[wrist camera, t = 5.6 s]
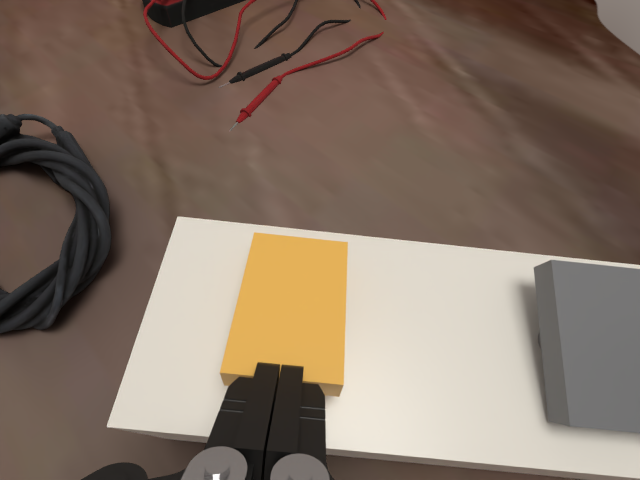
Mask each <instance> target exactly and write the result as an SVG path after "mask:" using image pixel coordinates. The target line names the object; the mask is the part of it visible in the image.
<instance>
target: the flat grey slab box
mask: <svg viewBox="0 0 640 480" xmlns="http://www.w3.org/2000/svg"><path fill="white" fill-rule="evenodd" d="M534 277H535V288H536V298H537V308H538V319H539V329H540V331H539V334H538V344H539V347H540V349H541V350H542V361H543V371H544V382H545V392H546V402H547V413H548V422H552V423H557V424H561V425H566V426H571V427H581V428H591V429H602V430H612V431H622V432H632V433H640V269H636V268H626V267H617V266H607V265H598V264H588V263H579V262H569V261H560V260H549V261H547V262H545V263H542V264H540V265H538V266H535V267H534Z"/></svg>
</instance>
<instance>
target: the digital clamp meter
mask: <svg viewBox="0 0 640 480" xmlns="http://www.w3.org/2000/svg"><path fill="white" fill-rule="evenodd" d="M142 1H143V4H144V7H145V9H144V14H143V15H144V19H145V22H146V25H147V26H148V28H149V30H150V31H151V33H152V34H153V35H154V36H155V37H156V39H157V40H158V41H159V42H160V43H161V44H162V45H163V46H164V48H165V49H166V50H167V51H168V52H169V53H170V54H171V55H172V56H173V57H174V58H175V59H177V60H178V61H179V62H180V63H181V64H182V65H183V66H184V67H185V68H186V69H187V70H188V71H189V72H190V73H192V74H193V75H195V76H196V77H198V78H200V79H203V80H209V79H213V78H215V77H217V76H218V75H219V74H220V73H221V72H222V71H223V70H224V69H225V67H226V66H227V64H228V62H229V61H230V59H231V57H232V54H233V51H234V48H235V46H236V43H237V39H238V34H239V29H240V24H241V18H242V14H243V12H244V10H245V9H246V8H247V7H248V6H249V5H250V4H251V3H253V2H254V1H256V0H250V1H249V2H248V3H247V4H246V5H245V6H244V7H243V8H242V9H241V11H240V13H239V17H238V23H237V28H236V33H235V38H234V42H233V44H232V47H231V50H230V53H229V56H228V58H227V59H226V61H225V63H224V65H223V66H222V65H219V64H217V63H215V62H214V61H212V60H211V59H210V58H209V57H208V56H207V55H206V54H205V53H204V52H203V50H202V49H201V48H200V47H199V46H198V45H197V44H196V42H195V40H194V39H193V37H192V36H191V34H190V32H189V31H188V28H187V25H186V22H188V21H191V20H193V19H196V18H199V17H202V16H204V15H207V14H210V13H212V12H215V11H218V10H221V9H223V8H226V7H229V6H231V5H234V4H237V3H240V2H242V1H245V0H142ZM297 1H298V0H295V2H294V5H293V7H292V9H291V11H290V13H289V15H288V16H287V17H286V18H285V20H283V21H282V22H281V23H280V24H278V25H277V26H276V27H275V28H274V29H273V30H272V31H271V32H270V33H269V34H268V35H267V36H266V37H264V38H263V39H262V41H261V42H260V43H259V44H258V45H257V46H256V47H255V48H254V49H256V48H258V47H259V46H261V45H262V44H263V43H264V42H265V41H266V40H267V39H268V38H269V37H270V36H271V35H272V34H273V33H274V32H275V31H276V30H277V29H278V28H279V27H281V26H282V25H283V24H284V23H285V22H287V20H288V19H289V18H290V17H291V15H292V13H293V11H294V9H295V7H296V4H297ZM370 1H371V2H372V3H373V4H374V5H375V6H376V7H377V8H378V10H379V11H380V13H381V14H382V16H383V17H384V19H385V20H386V17H385V14H384V13H383V11H382V9H381V8H380V6H379V5H378V4H377V3H376V2H375V1H374V0H370ZM355 2H356V3H357V5H358V6H359V8H360V4H359V2H358V1H357V0H355ZM147 14H148V16H149V17H150V18H151V19H152V20H154V21H155V22H157V23H159V24H161V25H163V26H167V27H171V28H172V27H175V26H177V25H180V24H184V27H185V30H186V33H187V35H188V36H189V38H190V39H191V41H192V42H193V44H194V46H195V47H196V48H197V49H198V50H199V51H200V52H201V54H202V55H203V56H204V57H205V58H206V59H207V60H208V61H209V62H211V63H212V64H213V65H214V66H217V67H221V68H220V69H219V70H218V72H217V73H216V74H214V75H212V76H202V75H199V74H197V73H196V72H195V71H193V70H192V69H191V68H190V67H189V66H188V65H187V64H185V63H184V62H183V61H182V60H181V59H180V58H179V57H178V56H177V55H176V54H175V53H174V52H173V51H172V50H171V49H170V48H169V47H168V46H167V45H166V44H165V43H164V41H163V40H162V39H161V38H160V37H159V36H158V35H157V33H156V32H155V31H154V30H153V28H152V27H151V25H150V23H149V22H148V19H147ZM349 21H351V20H328V21H324V22H322V23H321V24H319V25H318V26H317V27H316V28H315V29H314V30H313V31H312V32H311V34H310V35H309V36H308V37H307V39H306V40H305V41H304V42H303V43H302V45H301V46H300V47H299V48H298V49H297V50H296V51H294V52H293V53H291V54H289V53H287V54H282V55H281V56H280V57H277V58H274V59H272V60H270V61H268V62H265V63H263V64H261V65H258V66H256V67H254V68H252V69H249V70H247V71H245V72H243V73H241V72H238V73H237V76H235V77H234V78H232V79H231V80H230V81H229V83H235V82H238V81H241V80H243V81H244V80H245V79H246V78H248V77H250V76H253V75H255V74H257V73H259V72H262V71H264V70H266V69H268V68H270V67H273V66H275V65H277V64H279V63H281V62H283V61H285V60H286V61H287V60H288V59H289V58H291V56H292V55H294V54H296V53H297V52H299V51H300V50H301V49H302V48H303V47H304V45H305V44H306V43H307V42H308V41H309V39H310V38H311V37H312V36H313V34H314V33H315V32H316V31H317V30H318V29H319V28H320V27H321V26H323V25H325V24H328V23H347V22H349ZM383 33H384V32H382V33H380V34H378V35H374V36H369V37H366V38H363V39H361V40H359V41H357V42H356V43H355V44H354V45H352V46H351V47H349V48H347V49H345V50H343V51H341V52H339V53H336V54H334V55H331V56H328V57H326V58H323V59H320V60H317V61H315V62H312V63H309V64H306V65H303V66H300V67H298V68H295V69H292V70H290V71H288V72H286V73H284V74H283V75H281V76H277V77H274V78H273V79H272V82H271V83H270V84H269V85H268V86H267V87H266V88H265V89H264V90H263V91H262V92H261V93H260V94H259V95H258V96H257V97H256V98H255V99H254V100H253V101H252V102H251V103H250V104H249V105H248V106H247V107H246V108H243V109H241V111H240V113H241V114H240V115H239V117H238V119H237V121H236V122H237V123H236V124H235V125H234V126H233V127H232V128H231V129H230V130H229V131H231V130H232V129H233V128H234V127H235V126H236V125H237V124H238V123H240V122H242V121H243V120H245V119H246V118H247V117H248V116H249V117H251V113H252V112H253V111H254V110H255V109H256V108H257V107H258V106H259V105H260V104H261V103H262V102H263V101H264V100H265V99H266V97H267V96H268V95H269V94H270V93H271V92H272V91H273V90H274V89H275V88H276V87H277V85H278V84H281V81H282V78H283V77H285V76H286V75H288V74H291V73H293V72H296V71H299V70H302V69H304V68H307V67H310V66H313V65H316V64H318V63H321V62H324V61H327V60H329V59H332V58H334V57H337V56H340V55H342V54H344V53H346V52H348V51H350V50H352V49H353V48H354V47H356V46H357V45H358V44H360V43H361V42H364V41H366V40H370V39H375V38H378V37H380V36H381V35H382V34H383ZM229 83H227V84H229ZM227 84H224V85H222V86H225V85H227ZM222 86H220V87H222ZM220 87H219V88H220Z"/></svg>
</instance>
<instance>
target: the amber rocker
mask: <svg viewBox="0 0 640 480" xmlns="http://www.w3.org/2000/svg"><path fill="white" fill-rule="evenodd" d="M347 256H348V242H341V241H332V240H322V239H313V238H303V237H294V236H284V235H275V234H265V233H256V232H254V235H253V239H252V243H251V247H250V251H249V255H248V259H247V263H246V267H245V271H244V275H243V279H242V283H241V288H240V292H239V296H238V300H237V304H236V308H235V312H234V316H233V320H232V324H231V328H230V332H229V336H228V340H227V345H226V349H225V353H224V357H223V361H222V365H221V369H220V375H221V378H222V381H223V384H224V385H225V386H229V385H230V384H231V383H233V382H234V381H235V380H236V379H237V378H238V377H248V378H253V376H254V373H255V369H256V366H257V363H258V362H263V363H273V364H280V372H281V366H282V364H284V365H294V366H304V370H303V383H310V384H319V386H320V388H321V389H322V391H323V393H324V395H326V396H336V397H339V396H340V394H341V391H342V388H343V386H344V359H345V324H346V290H347ZM279 377H280V373H279Z"/></svg>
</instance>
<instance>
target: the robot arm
mask: <svg viewBox="0 0 640 480" xmlns="http://www.w3.org/2000/svg"><path fill="white" fill-rule="evenodd" d="M303 370H304V366H294V365H284V364H282V366H281V372H280V364H273V363H263V362H258V363H257V366H256V369H255V373H254V376H253V378H248V377H238V378H237V379H236V380H235V381H234V382H233V383H231V384H230V385H229V386H228V389H227V391H226V394H225V396H224V400H223V402H222V404H221V407H220V411H219V412H218V415H217V417H216V420H215V423H214V425H213V428H212V430H211V433H210V436H209V438H208V441H207V443H206V446H205V449H204V451H202V452H200V453H199V454H197V455H196V456H195V457H194V458H193V459H192V460H191V461H190V463H189V465H188V466H187V468H186V469H185V470H183V471H181V472H178V473H175V474H172V475H168V476H162V477H157V478H152V479H147V474H146V472H145V471H144V469H142V468H141V467H140V466H138V465H136V464H133V463H115V464H112V465H108V466H106V467H103V468H101V469H99V470H97V471H95V472H94V473H92V474H90V475H88V476H87V477H85V478H83V479H81V480H334V479H333V478H332V476H331V475H330V473H329V471H328V468H327V464H326V421H325V395H324V393H323V391H322V389H321V388H320V386H319V384H310V383H303ZM279 373H280V377H279Z"/></svg>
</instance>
